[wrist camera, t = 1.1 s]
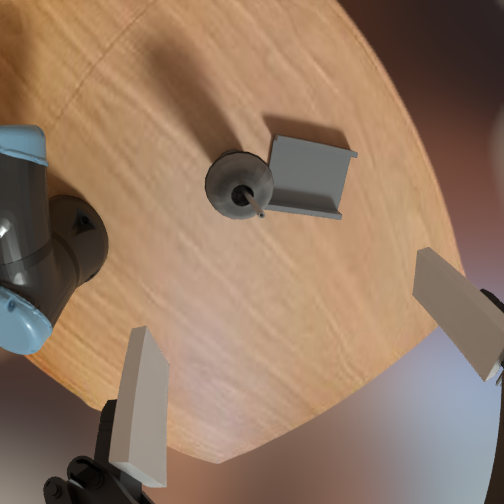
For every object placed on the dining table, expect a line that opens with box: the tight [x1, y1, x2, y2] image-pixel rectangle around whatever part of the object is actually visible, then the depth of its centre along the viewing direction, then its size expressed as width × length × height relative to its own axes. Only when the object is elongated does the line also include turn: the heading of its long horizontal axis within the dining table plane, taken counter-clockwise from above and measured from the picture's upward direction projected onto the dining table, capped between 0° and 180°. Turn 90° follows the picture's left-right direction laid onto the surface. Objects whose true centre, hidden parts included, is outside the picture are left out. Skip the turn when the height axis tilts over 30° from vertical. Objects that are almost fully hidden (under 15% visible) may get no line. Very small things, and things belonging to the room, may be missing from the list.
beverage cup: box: [205, 149, 274, 220], centre depth 32 cm, size 7×7×20 cm
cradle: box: [264, 134, 358, 220], centre depth 42 cm, size 12×11×2 cm
